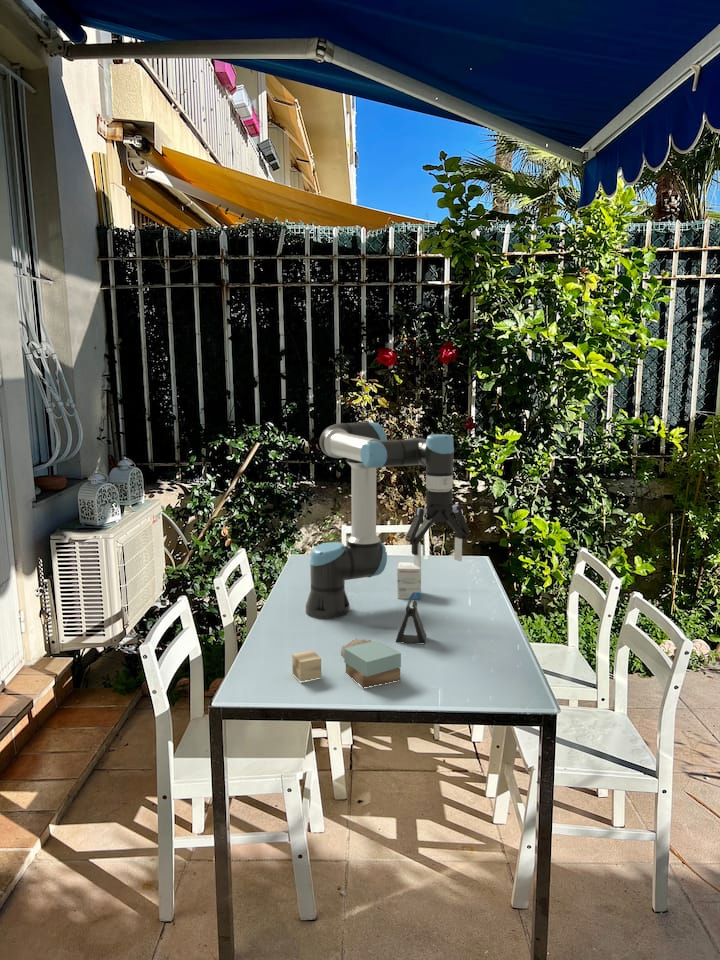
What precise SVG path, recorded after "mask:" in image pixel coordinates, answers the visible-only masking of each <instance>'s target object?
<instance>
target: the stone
mask: <svg viewBox="0 0 720 960" xmlns="http://www.w3.org/2000/svg"><path fill="white" fill-rule="evenodd" d="M372 641H373V640H370V639H360V638H355V639H352V640H351V641H349V642H348V643H347V644H345V645H343V646H341V650H340V654H341V657H342V656H343V657H342V658H343V659H344V648H348V647H352V646H356V645H360V644H364V643H368V642H372Z"/></svg>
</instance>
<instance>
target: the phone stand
mask: <svg viewBox="0 0 720 960" xmlns="http://www.w3.org/2000/svg"><path fill="white" fill-rule="evenodd" d="M411 602H412V606H411ZM410 617H411V618H412V620H413V624H414V627H415V631H416V632H415V633H416V635H413V634H405V632H406V627H407V624H408V621H409V618H410ZM426 640H427V633H426V631H425V627H424V625H423V622H422V620H421V617H420V613H419V611H418V602H417V599H413V601H412V599H408V601H407V604H406V607H405V615H404V618H403V619H402V622H401V626H400V628H399V631H398V633H397V635H396V639H395V643H397V642H404V643H403V644H412V643H425V644H426Z"/></svg>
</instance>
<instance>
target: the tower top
mask: <svg viewBox="0 0 720 960" xmlns="http://www.w3.org/2000/svg"><path fill="white" fill-rule="evenodd" d="M371 641H372V642H368V643H364V644H360V645H356V646H352V647H348V648H344V658H343V660H344V663H345V665H346V664H348V665H349V666H351V667H352V668H354V669H356V670H357V671H359V672H360V673H362V674H363V675H365V676H367V677H368V676H371V675H375V674H378V673H382V672H385V671H389V670H392V669H396V668H401V666H402V665H401V664H402V652H400V651H398V650H396V649H395V648H393V647H391V646H389V645H387V644H386V643H383V642H382V641H380V640H378V639H376V640H371Z"/></svg>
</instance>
